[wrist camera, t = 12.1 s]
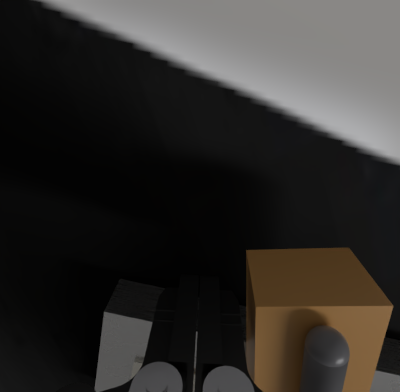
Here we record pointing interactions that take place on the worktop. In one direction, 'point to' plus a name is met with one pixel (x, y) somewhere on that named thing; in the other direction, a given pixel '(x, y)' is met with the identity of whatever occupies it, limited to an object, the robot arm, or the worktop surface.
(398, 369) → the plate
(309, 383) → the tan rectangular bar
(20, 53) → the worktop surface
